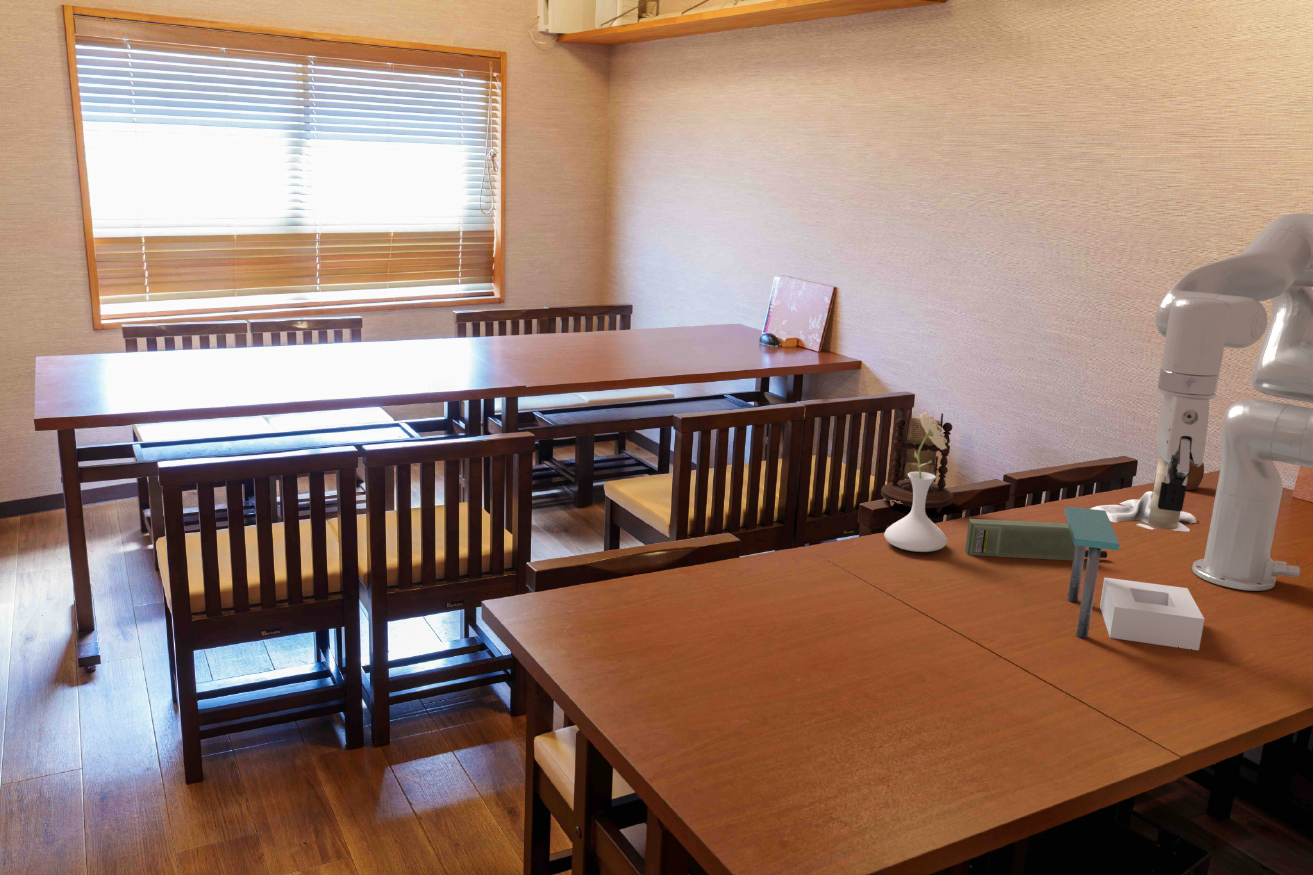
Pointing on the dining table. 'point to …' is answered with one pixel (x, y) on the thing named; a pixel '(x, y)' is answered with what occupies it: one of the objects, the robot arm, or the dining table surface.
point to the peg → (1157, 516)
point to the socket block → (1151, 613)
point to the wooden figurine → (1194, 476)
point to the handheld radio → (1021, 540)
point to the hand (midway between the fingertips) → (1166, 503)
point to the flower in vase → (920, 504)
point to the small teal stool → (1095, 534)
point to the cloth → (1140, 512)
